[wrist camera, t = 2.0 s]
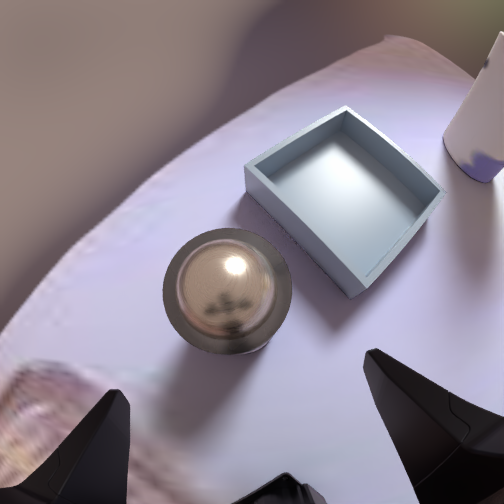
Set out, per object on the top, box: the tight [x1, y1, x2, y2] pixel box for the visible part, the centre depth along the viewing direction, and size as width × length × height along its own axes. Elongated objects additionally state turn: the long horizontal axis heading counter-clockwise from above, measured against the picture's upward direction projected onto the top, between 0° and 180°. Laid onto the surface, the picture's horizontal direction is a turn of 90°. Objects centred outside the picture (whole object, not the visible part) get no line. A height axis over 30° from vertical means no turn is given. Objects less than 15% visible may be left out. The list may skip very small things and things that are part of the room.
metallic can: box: [163, 228, 292, 355], centre depth 17 cm, size 6×6×12 cm
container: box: [443, 32, 504, 183], centre depth 20 cm, size 10×10×20 cm
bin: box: [244, 106, 447, 300], centre depth 24 cm, size 14×14×4 cm
